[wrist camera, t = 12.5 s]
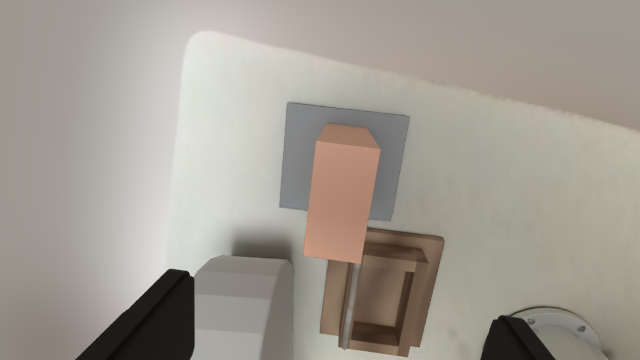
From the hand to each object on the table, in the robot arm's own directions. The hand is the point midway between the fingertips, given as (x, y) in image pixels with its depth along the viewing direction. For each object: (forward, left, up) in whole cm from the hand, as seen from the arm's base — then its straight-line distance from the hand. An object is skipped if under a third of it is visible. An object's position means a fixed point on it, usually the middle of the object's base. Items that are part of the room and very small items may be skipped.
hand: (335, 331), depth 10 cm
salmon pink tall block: (0, 0, -23) cm, 23 cm away
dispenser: (-6, +14, -24) cm, 28 cm away
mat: (0, 0, -24) cm, 24 cm away
